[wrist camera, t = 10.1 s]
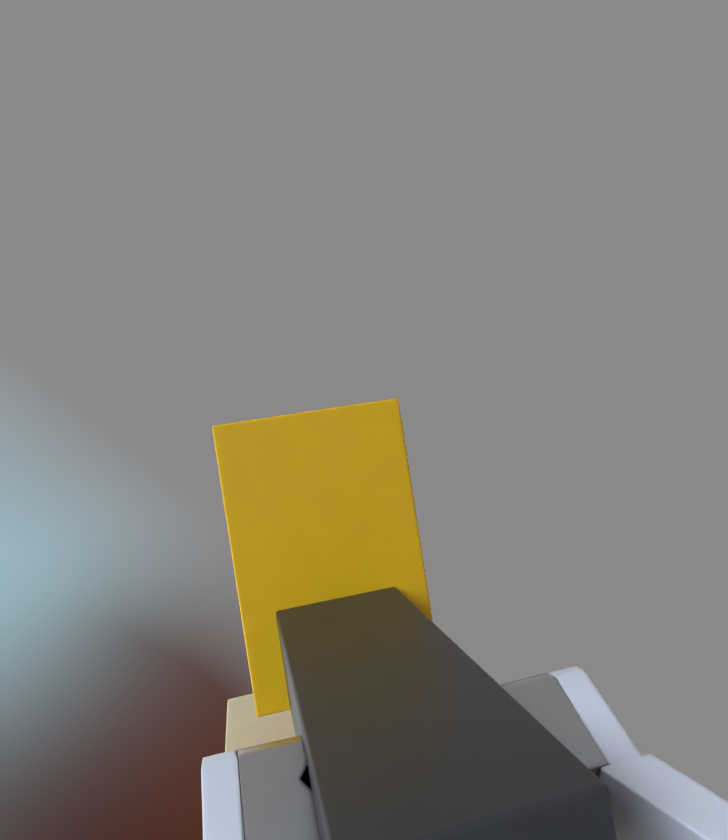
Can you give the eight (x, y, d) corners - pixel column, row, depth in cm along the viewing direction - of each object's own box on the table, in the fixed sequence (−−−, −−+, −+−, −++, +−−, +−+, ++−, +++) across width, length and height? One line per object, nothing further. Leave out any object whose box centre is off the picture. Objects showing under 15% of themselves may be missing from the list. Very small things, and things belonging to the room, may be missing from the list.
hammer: (712, 987, 7) (613, 342, 7) (287, 1142, 6) (172, 405, 6) (380, 605, 23) (350, 410, 23) (250, 632, 22) (219, 429, 22)
